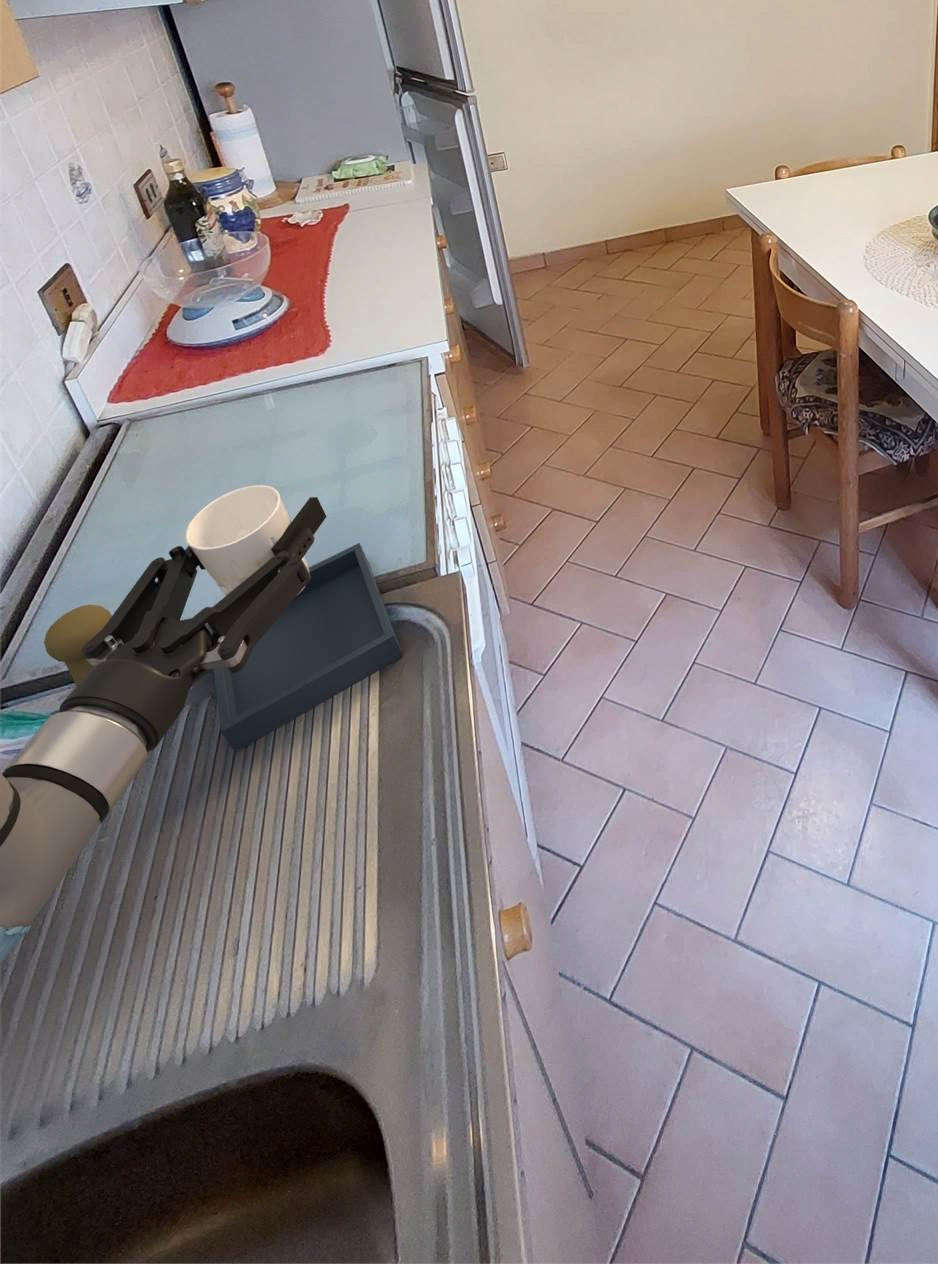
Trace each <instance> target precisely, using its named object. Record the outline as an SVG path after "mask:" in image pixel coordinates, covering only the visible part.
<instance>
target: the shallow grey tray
mask: <svg viewBox="0 0 938 1264" xmlns="http://www.w3.org/2000/svg"><path fill="white" fill-rule="evenodd" d="M309 573H310V576H311V579H310V581H309V582H308V583H307V584H306V585H305V588H304V589H303V590H302V591H301V592H300V593H299V594H298V595H297V596H296V597H295V599H294V600H293V601H292V602H291V603H290V605H289V606H288V607H287V608H286V609H285V611H284V612H283V613H282V614H281V615H280V616H279V618H278V619H277V620H276V621H275V622H274V624H273V625H272V626H271V627H270V628H269V630H268V631H267V632H266V633H265V634H264V636H263V637H262V638H261V639H260V640H259V642H258V643H257V644H256V645H255V646H254V648H253V650H252V652H251V654H250V656H249V658H248V660H247V662H246V664H245V666H244V668H243V669H242V670H240V671H239V672H236V673H231V672H230V671H229V669H228V668H227V667H221V668H214V669H212V671H213V677H214V686H215V695H216V704H217V711H218V720H219V727H220V733H221V734H222V735H223V737H224V738H225V740H226V741H227V743H228V744H229V746H230V747H231V748H232V750H233V752H234V753H236V752H238V751H240V750H242V749H244V748H246V747H247V746H248V744H249V745H251V744H253V743H254V742H256V741H257V740H259V739H261V738H263V737H264V736H266V735H269V734H270V733H272V732H273V731H275V730H277V729H279V728H280V727H282V726H284V725H285V724H288V723H289V722H290V721H293V720H294V719H296V718H298V717H300V716H301V715H303V714H305V713H307V712H308V711H310V710H311V709H312V710H313V708H315V707H317V706H318V705H320V704H322V703H324V702H325V701H328V700H329V699H331V698H332V697H335V696H336V695H338V694H340V693H342V692H343V691H345V690H347V689H349V688H350V687H353V685H355V684H357V683H359V682H361V681H362V680H364V679H366V678H367V677H370V676H371V675H373V674H374V673H376V672H378V671H380V670H381V669H384V668H385V667H387V666H389V665H390V664H392V663H394V662H395V661H397V660H399V659H401V658H402V657H404V653H403V650H402V647H401V645H400V643H399V640H398V637H397V634H396V631H395V629H394V626H393V624H392V621H391V618H390V616H389V613H388V610H387V608H385V607H386V605H385V603H384V602H385V601H384V599H383V597H382V595H381V594H382V593H381V591H380V588H379V585H378V583H377V581H376V579H375V575H374V572H373V570H372V567H371V564H370V562H369V559H368V557H367V555H366V553H365V551H364V549H363V547H362V545H361V543H360V542H358V543H356V544H354V545H352V546H350V547H348V548H346V549H343V550H342V551H340V552H337V553H336V554H334V555H332V556H329V557H327V558H325V559H324V560H322V561H320V562H318V563H315V564H313V565H312V566H309ZM207 629H208V630H209V632H210V633H211V636H212V634H213V631H212V629H211V628H210V626H209V625H208V624H207ZM241 748H242V749H241ZM239 749H240V750H239ZM237 750H238V751H237Z"/></svg>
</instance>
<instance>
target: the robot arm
mask: <svg viewBox="0 0 938 1264" xmlns="http://www.w3.org/2000/svg"><path fill="white" fill-rule="evenodd" d="M327 517H328V516H327V514H326V512H325V511H324V508H323V506H322V504H321V502H320V500H319V498H318V496H310V497H309V498H308V499H307V501H305V504H304V505H303V506H302V507H301V509H300V510H299V511H298V513H297V514H296V516H294V518H293V519H292V521H291V524H290V525H289V526H288V528H287V529H286V530H285V532H284V533H283V535H282V536H281V538H280V539H279V540H278V541H277V542H276V544H275V545H274V546H273V548H272V549H271V550H272V552H273V554H274V557H272V558H271V559H270V560H269V561H268V562H266V563H265V564H264V565H263V566H262V567H260V568H259V569H258V570H257V571H256V572H254V573H253V574H252V575H251V576H250V577H248V578H247V579H246V580H245V581H243V582H242V583H241V584H240V585H239V586H237V587H236V588H235V589H234V590H233V591H231V592H230V593H229V594H228V595H227V596H226V595H225V596H224V597H223V598H222V599H220V600H219V601H218V602H217V603H215V604H214V605H213V606H206V607H204V608H202V609H201V610H200V611H199V612H197V613H196V614H195V615H194V616H193V617H192V618H191V617H189V618H186V619H182V616H183V613H184V611H185V607H186V605H187V602H188V599H189V596H190V594H191V591H192V588H193V585H194V582H195V580H196V578H197V574H198V569H197V568H198V567H199V568H200V570H202V571H203V570H205V571H207V570H206V569H205V567H204V566H203V564H202V563H201V562H200V560H199V559H198V557H197V556H196V554H195V553H194V552H193V550H192V549H191V547H190V546H189V545H188V546H187V547H186V548H184V547H183V546H182V545H177V546H175V547H173V548H172V549H170V550H169V552H168V555H169V557H170V558H169V559H165V558H164V557H156V558H155V559H154V560H152V561H151V562H150V563H149V565H148V566H147V567H146V569H145V570H144V571H143V573H142V574H141V575H140V577H139V578H138V579H137V581H136V583H135V584H134V585H133V587H132V588H131V589H130V591H129V592H128V594H127V595H126V596H125V597H124V599H123V600H122V602H121V603H120V604H119V606H118V607H117V609H116V610H115V611H114V613H113V614H112V617H111V618H110V620H109V621H108V622H107V624H106V625H105V627H104V628H103V629H102V630H101V631H100V632H99V633H98V634H96V635H95V636H94V637H93V638H92V639H91V640H90V641H89V642H88V643H87V644H86V645H85V646H84V647H83V648H82V650H81V653H82V654H83V655H84V656H85V658H86V659H87V660H88V662H89V663H90V664H91V665H92V667H93V668H92V669H91V670H90V671H89V672H88V673H87V674H86V676H85V677H84V678H83V679H82V680H81V681H80V683H79V684H78V685H77V686H76V685H75V687H74V688H73V689H72V691H71V692H70V693H69V694H68V695H67V697H66V698H65V699H64V700H63V701H62V703H61V704H60V705H59V709H58V712H56V713H54V714H52V715H51V716H49V717H47V719H46V720H45V722H43V724H42V725H41V726H40V727H39V728H38V730H37V731H36V732H35V733H34V735H33V736H32V737H31V738H30V739H29V741H27V743H26V744H25V745H24V746H23V748H22V749H21V750H20V751H19V753H17V755H16V756H15V757H14V758H13V760H12V761H11V762H10V763H9V764H8V766H7V767H6V768H5V769H4V770H3V772H2V773H1V772H0V965H1V964H2V963H3V962H4V960H5V959H6V958H7V956H9V954H10V953H11V952H12V950H13V949H14V948H15V946H16V945H17V944H18V943H19V941H20V940H21V939H22V938H23V936H24V935H26V934H27V933H28V932H29V931H30V929H31V928H32V924H33V921H34V920H35V919H36V917H38V914H39V913H40V911H41V910H42V908H44V906H45V904H46V903H47V901H48V900H49V898H50V897H51V896H52V894H53V893H54V892H55V891H56V889H57V888H58V886H59V885H60V883H61V882H62V880H63V879H64V877H65V876H66V875H67V873H68V872H69V870H70V869H71V868H72V866H73V864H74V863H75V862H76V860H77V858H79V856H80V854H81V853H82V852H83V850H84V849H85V847H86V846H87V845H88V843H89V842H90V840H91V839H92V837H93V836H94V834H95V833H96V832H97V831H98V829H99V827H100V826H101V825H102V824H103V822H104V821H105V819H107V816H108V814H110V812H111V811H112V809H113V808H114V807H115V805H116V804H117V802H118V801H119V799H120V797H122V795H123V794H124V793H125V791H126V790H127V788H128V787H129V786H130V784H131V783H132V781H133V780H134V779H135V777H136V775H138V773H139V771H140V770H141V769H142V767H143V766H144V765H145V763H146V762H147V759H148V753H149V752H151V751H153V750H155V749H156V748H157V747H158V745H159V744H160V743H161V741H162V740H163V738H165V736H166V735H167V733H168V732H169V730H170V728H171V727H172V726H173V725H174V723H175V722H176V720H178V718H179V716H180V714H182V712H183V710H184V708H185V705H186V700H187V697H188V694H189V691H190V689H191V688H192V687H193V686H194V685H195V683H197V681H199V680H200V679H201V678H203V677H204V676H205V675H206V674H207V673H208V671H209V670H213V669H214V668H221V667H227V668H228V669H229V671H230V672H231V673H236V672H239V671H240V670H242V669H243V668H244V666H245V664H246V662H247V660H248V658H249V656H250V654H251V652H252V650H253V648H254V646H255V645H256V644H257V643H258V642H259V640H260V639H261V638H262V637H263V636H264V634H265V633H266V632H267V631H268V630H269V628H270V627H271V626H272V625H273V624H274V622H275V621H276V620H277V619H278V618H279V616H280V615H281V614H282V613H283V612H284V611H285V609H286V608H287V607H288V606H289V605H290V603H291V602H292V601H293V600H294V599H295V597H296V596H297V595H298V594H299V593H300V591H301V590H302V589H303V588H304V587H305V585H306V584H307V583H308V582H309V581H310V579H311V576H310V574H309V572H308V570H307V568H306V566H305V564H304V562H303V560H302V558H303V557H306V556H305V555H306V554H307V553H308V551H309V550H310V548H311V547H312V545H313V544H314V543H315V534H316V532H317V531H318V530H319V528H320V527H321V525H323V522H324V521H325V520H326V519H327ZM278 570H279V571H280V572H278ZM156 580H157V581H156ZM208 625H209V626H210V628H211V629H212V631H213V634H212V636H211V633H210V632H209V630H208Z"/></svg>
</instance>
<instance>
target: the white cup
mask: <svg viewBox="0 0 938 1264" xmlns="http://www.w3.org/2000/svg"><path fill="white" fill-rule="evenodd" d="M291 522H292V521H291V518H290V516H289V512H288V511H287V509H286V506H285V505H284V502H283V499H282V497H281V495H280V493H279V491H278V490H277V489H276V488H275V487H273V486H270V485H265V484H255V485H249V486H243V487H240V488H237V489H234V490H231V491H229V492H227V493H225V494H223V495H221V496H219V497H217V498H215V499H214V500H212V501H211V502H209V503H208V504H207V505H206V506H204V507H203V508H202V509H200V511H198V513H196V514H195V516H194V517H192V519H191V520H190V522H189V524H188V525H187V528H186V529H185V534H184V535H185V536H184V537H185V538H184V539H185V542H186V544H187V545H188V546H190V547H191V549H192V550H193V552H194V553H195V554H196V556H197V557H198V559H199V560H200V562H201V563H202V564H203V566H204V567H205V569H206V570H205V571H206V572H207V573H208V574H209V576H210V577H211V578H212V580H213V581H214V582H215V584H216V585H217V586H218V588H219V589H220V590H221V592H222V593H223V594H224V595H225V596H227V595H228V594H229V593H230V592H231V591H233V590H234V589H235V588H236V587H237V586H239V585H240V584H241V583H242V582H243V581H245V580H246V579H247V578H248V577H250V576H251V575H252V574H253V573H254V572H256V571H257V570H258V569H259V568H260V567H262V566H263V565H264V564H265V563H266V562H268V561H269V560H270V559H271V558H272V557H274V554H273V552H272V550H271V549H272V548H273V546H274V545H275V544H276V542H277V541H278V540H279V539H280V538H281V536H282V535H283V533H284V532H285V530H286V529H287V528H288V526H289V525H290V524H291ZM302 560H303V562H304V564H305V566H306V568H307V570H308V572H309V567H310V566H309V562H308V561H307V560H306V556H304V557H303V558H302ZM278 572H280V571H279V570H278ZM309 574H310V573H309ZM304 588H305V587H304ZM304 588H303V589H304ZM303 589H302V590H303ZM302 590H301V591H302ZM301 591H300V592H301Z"/></svg>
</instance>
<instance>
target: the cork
mask: <svg viewBox="0 0 938 1264" xmlns="http://www.w3.org/2000/svg"><path fill="white" fill-rule="evenodd" d="M112 616H113V614H111V612H110V610H108V609H107V608H105V607H103V606H102V605H97V604H86V605H81V606H78V607H76V608H73V609H71V610H70V611H68V612H66V613H63V615H62V616H60V617H58V619H56V620H55V621H54V622H53V623H52V625H50V626H49V628H48V630H47V631H46V634H45V637H44V640H43V641H44V642H43V644H44V647H45V648H44V649H45V651H46V653H47V655H48V656H50V658H52V659H53V660H56V661H58V662H59V663H65V665H66V667H67V670H68V672H69V674H70V676H71V679H72V680H73V682H74V685H75V687H76V686H77V685H78V684H79V683H80V681H81V680H82V679H83V678H84V677H85V676H86V674H87V673H88V672H89V671H90V670H91V669H92V668H93V667H92V665H91V664H90V663H89V662H88V660H87V659H86V658H85V656H84V655H83V654H82V653H81V650H82V648H83V647H84V646H85V645H86V644H87V643H88V642H89V641H90V640H91V639H92V638H93V637H94V636H95V635H96V634H98V633H99V632H100V631H101V630H102V629H103V628H104V627H105V625H106V624H107V622H108V621H109V620H110V618H111V617H112Z"/></svg>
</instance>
